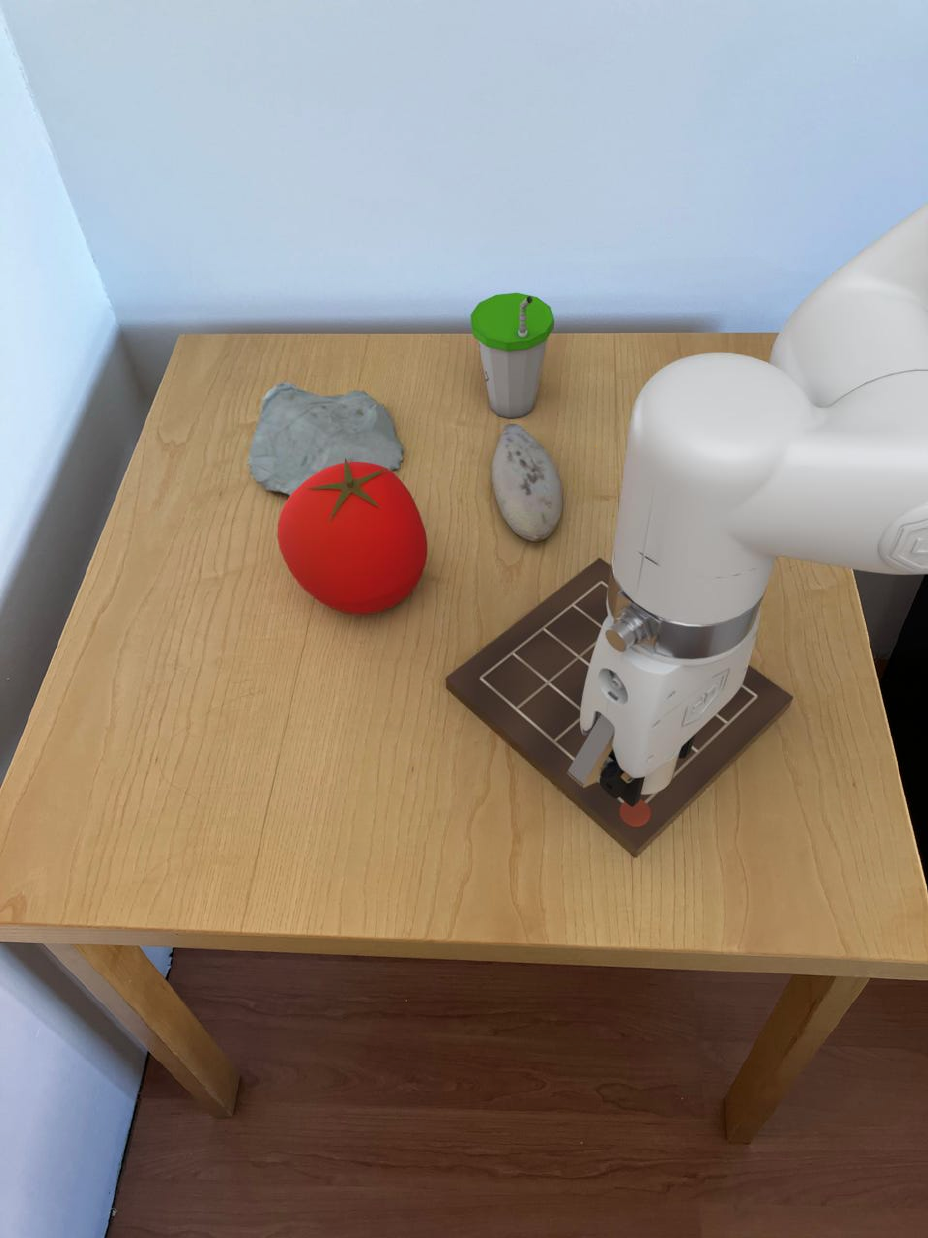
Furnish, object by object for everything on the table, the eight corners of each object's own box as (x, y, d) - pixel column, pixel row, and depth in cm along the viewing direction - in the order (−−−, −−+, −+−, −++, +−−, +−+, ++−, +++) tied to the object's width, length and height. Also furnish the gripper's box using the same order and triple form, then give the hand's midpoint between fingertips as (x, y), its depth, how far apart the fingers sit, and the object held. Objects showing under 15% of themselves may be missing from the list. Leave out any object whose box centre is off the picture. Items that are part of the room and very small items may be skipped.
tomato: (454, 556, 85) (445, 451, 75) (400, 657, 79) (383, 556, 69) (331, 522, 89) (307, 416, 79) (269, 615, 82) (235, 513, 72)
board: (789, 707, 74) (794, 696, 73) (635, 859, 67) (637, 849, 66) (598, 568, 84) (599, 556, 83) (445, 688, 77) (444, 677, 76)
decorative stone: (539, 433, 95) (540, 406, 92) (576, 548, 85) (578, 521, 83) (478, 442, 94) (477, 415, 92) (509, 558, 85) (509, 532, 82)
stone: (308, 511, 85) (205, 414, 90) (309, 541, 89) (209, 445, 94) (434, 433, 93) (333, 347, 97) (430, 463, 96) (332, 378, 101)
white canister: (687, 766, 63) (697, 735, 59) (645, 807, 61) (652, 777, 58) (638, 726, 64) (645, 694, 61) (596, 765, 63) (600, 734, 60)
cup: (481, 375, 100) (477, 244, 89) (555, 382, 99) (561, 250, 87) (466, 425, 96) (460, 293, 84) (544, 433, 95) (548, 301, 83)
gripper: (628, 736, 43) (597, 892, 58) (845, 540, 50) (768, 724, 64) (511, 639, 47) (510, 809, 61) (728, 469, 53) (681, 658, 68)
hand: (643, 764), depth 62 cm, fingers closed on white canister, 4 cm apart
